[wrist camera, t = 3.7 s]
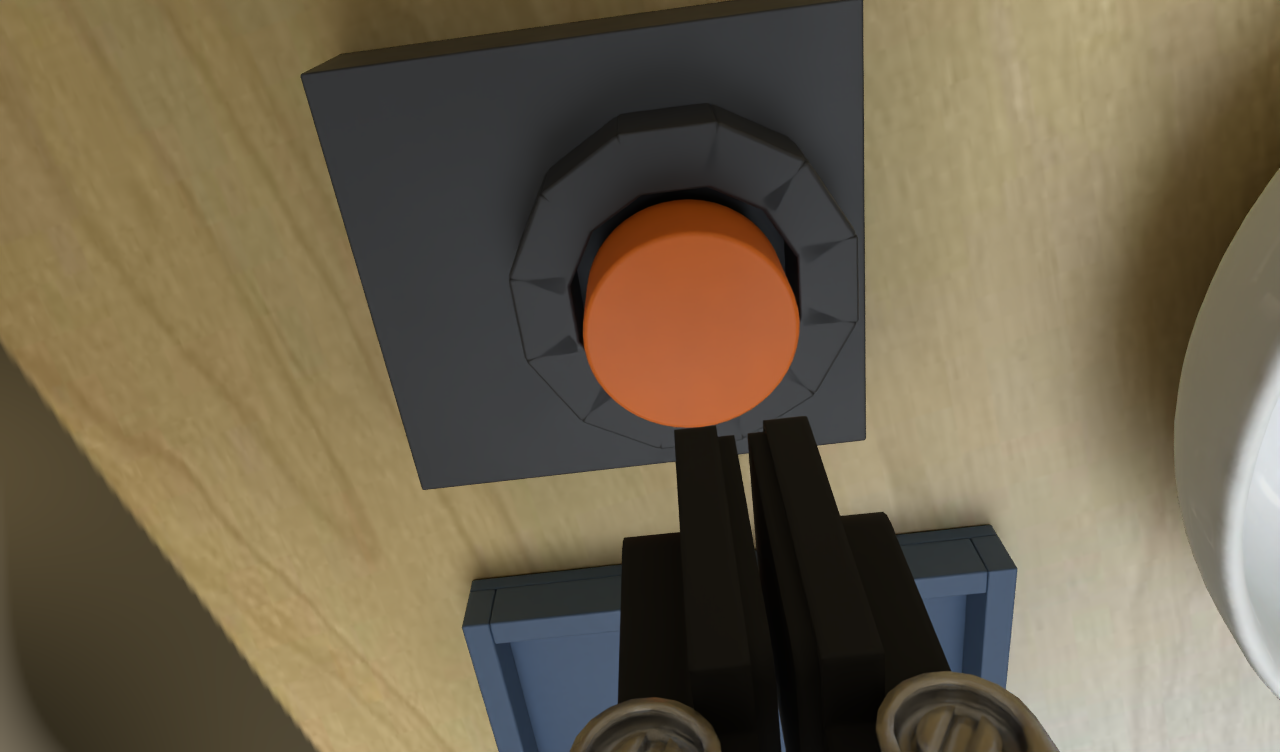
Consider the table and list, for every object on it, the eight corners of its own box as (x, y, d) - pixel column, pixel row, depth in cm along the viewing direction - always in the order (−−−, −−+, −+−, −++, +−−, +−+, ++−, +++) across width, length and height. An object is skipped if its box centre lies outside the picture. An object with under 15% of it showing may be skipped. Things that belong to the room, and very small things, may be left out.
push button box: (442, 434, 24) (406, 536, 20) (338, 54, 20) (265, 90, 16) (842, 387, 24) (885, 483, 20) (833, -14, 19) (888, 6, 15)
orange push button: (602, 390, 19) (599, 440, 17) (572, 211, 17) (565, 246, 15) (787, 368, 19) (804, 416, 17) (777, 185, 17) (795, 218, 15)
